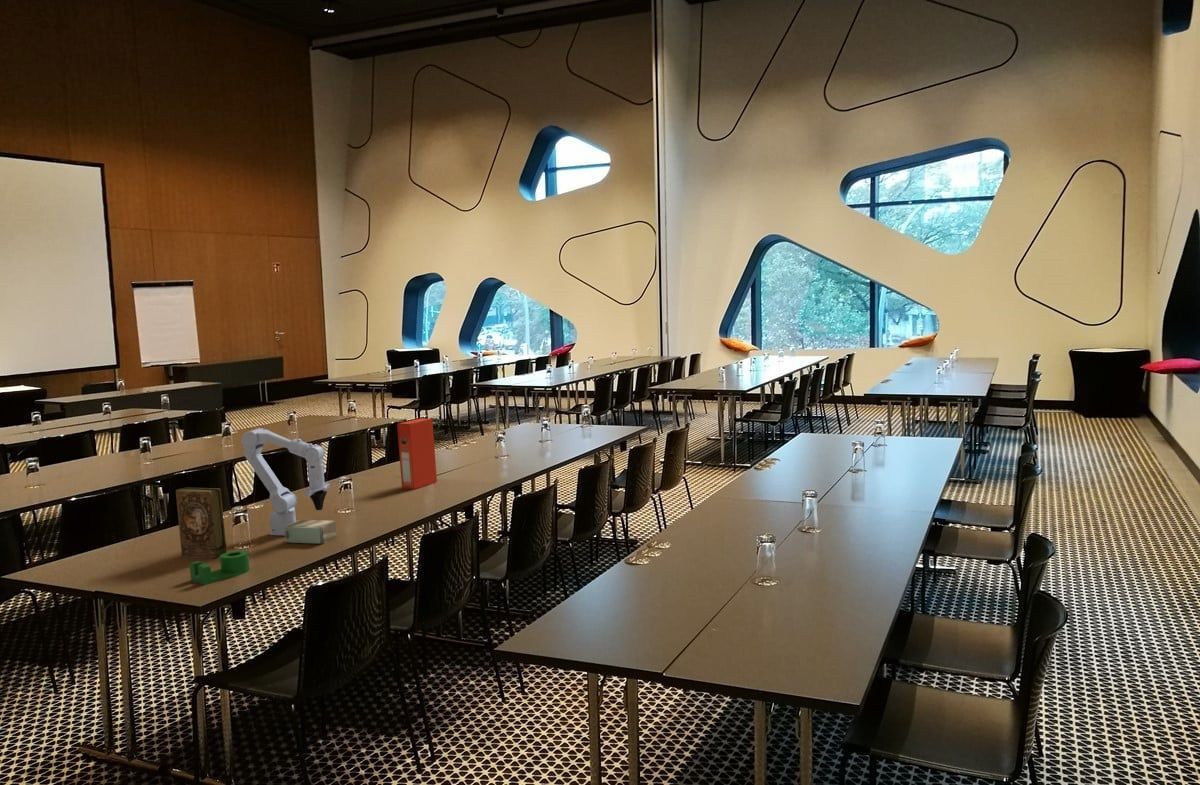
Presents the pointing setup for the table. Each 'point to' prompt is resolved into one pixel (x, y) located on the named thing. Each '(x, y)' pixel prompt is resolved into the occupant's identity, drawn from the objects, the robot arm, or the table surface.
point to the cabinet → (327, 527)
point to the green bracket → (230, 567)
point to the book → (201, 522)
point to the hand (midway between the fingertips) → (319, 509)
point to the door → (303, 534)
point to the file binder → (417, 453)
